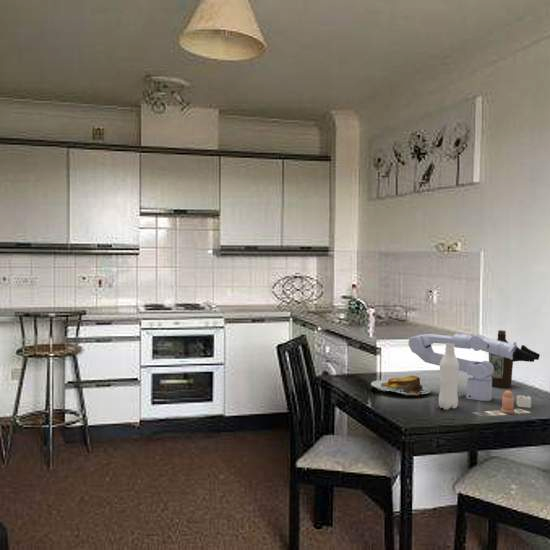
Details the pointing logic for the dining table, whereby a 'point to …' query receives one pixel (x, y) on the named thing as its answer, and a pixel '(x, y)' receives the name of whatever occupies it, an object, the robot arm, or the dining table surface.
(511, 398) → the pawn
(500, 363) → the olive oil
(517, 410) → the board
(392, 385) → the food on plate
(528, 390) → the dining table surface
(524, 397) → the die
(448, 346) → the water bottle
